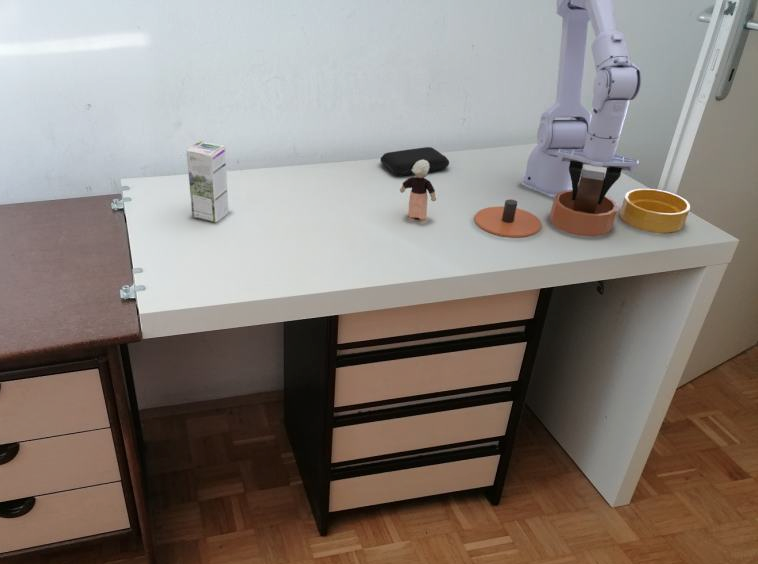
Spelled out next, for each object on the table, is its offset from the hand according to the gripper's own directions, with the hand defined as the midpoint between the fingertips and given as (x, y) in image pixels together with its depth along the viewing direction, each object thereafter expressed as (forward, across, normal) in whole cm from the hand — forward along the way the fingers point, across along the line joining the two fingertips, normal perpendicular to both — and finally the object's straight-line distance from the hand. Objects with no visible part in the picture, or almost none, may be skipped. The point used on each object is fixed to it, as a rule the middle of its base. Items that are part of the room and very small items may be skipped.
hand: (586, 200), depth 145 cm
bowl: (+5, +14, +7) cm, 16 cm away
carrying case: (+6, -39, +17) cm, 43 cm away
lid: (+5, -14, -6) cm, 16 cm away
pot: (+5, 0, 0) cm, 5 cm away
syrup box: (+6, -71, -25) cm, 75 cm away
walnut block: (+2, 0, 0) cm, 2 cm away
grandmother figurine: (+6, -32, -11) cm, 34 cm away
